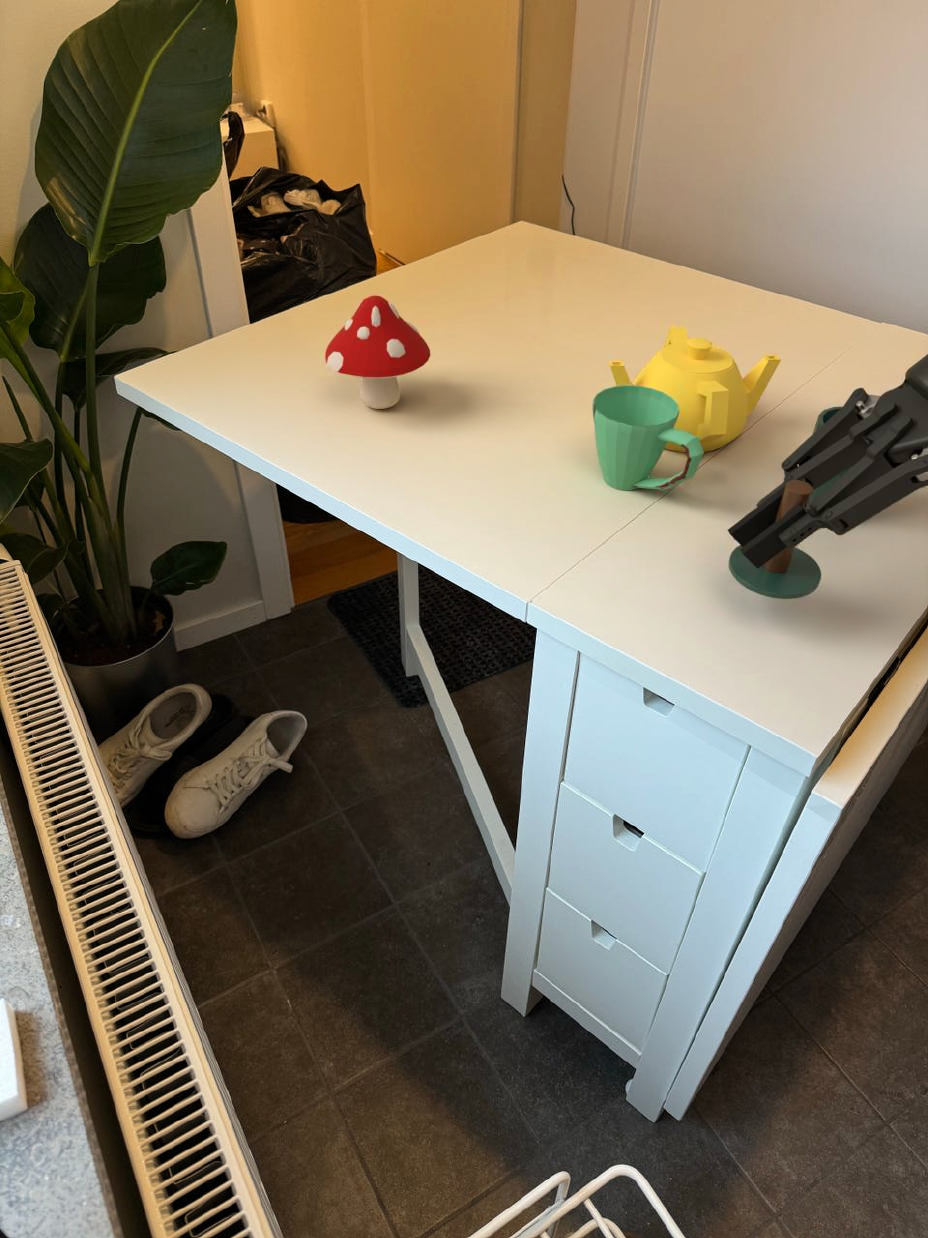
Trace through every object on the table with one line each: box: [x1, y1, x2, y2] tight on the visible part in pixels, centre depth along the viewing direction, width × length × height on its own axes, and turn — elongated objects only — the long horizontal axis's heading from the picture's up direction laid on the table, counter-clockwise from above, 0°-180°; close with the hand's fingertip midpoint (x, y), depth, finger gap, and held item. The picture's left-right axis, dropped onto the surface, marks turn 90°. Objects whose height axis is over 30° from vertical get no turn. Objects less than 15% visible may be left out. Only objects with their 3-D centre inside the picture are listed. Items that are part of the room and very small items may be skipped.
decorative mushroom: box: [324, 295, 431, 410], centre depth 116 cm, size 14×14×15 cm
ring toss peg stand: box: [728, 480, 822, 600], centre depth 83 cm, size 9×9×10 cm
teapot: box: [608, 326, 782, 453], centre depth 114 cm, size 17×17×12 cm
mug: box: [591, 385, 704, 491], centre depth 104 cm, size 15×10×10 cm
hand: (742, 549), depth 84 cm, fingers closed on ring toss peg stand, 2 cm apart
